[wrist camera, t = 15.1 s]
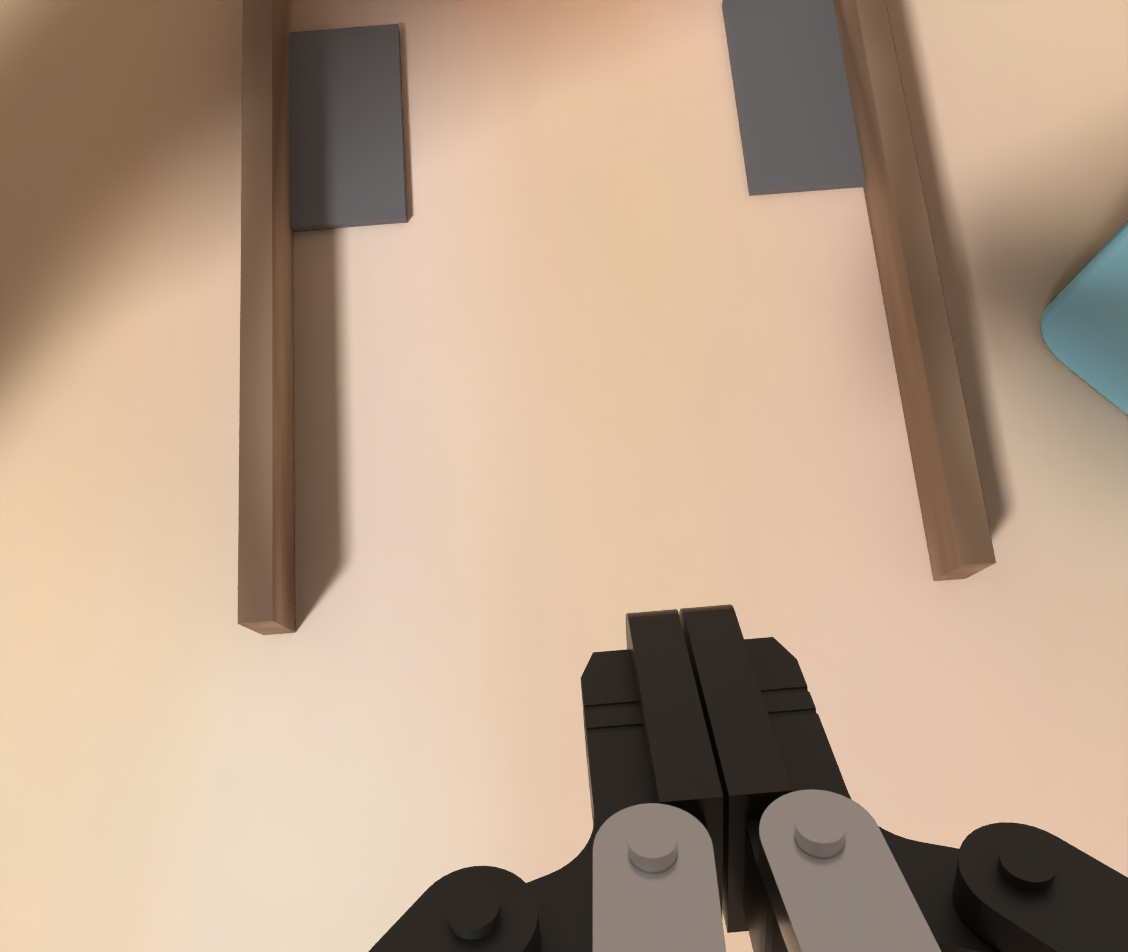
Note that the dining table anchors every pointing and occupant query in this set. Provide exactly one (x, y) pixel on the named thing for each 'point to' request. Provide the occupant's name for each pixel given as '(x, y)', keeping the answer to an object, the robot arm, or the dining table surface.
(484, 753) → the dining table surface
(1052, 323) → the data package
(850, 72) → the lane rails
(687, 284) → the dining table surface
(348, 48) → the pads
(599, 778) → the robot arm
